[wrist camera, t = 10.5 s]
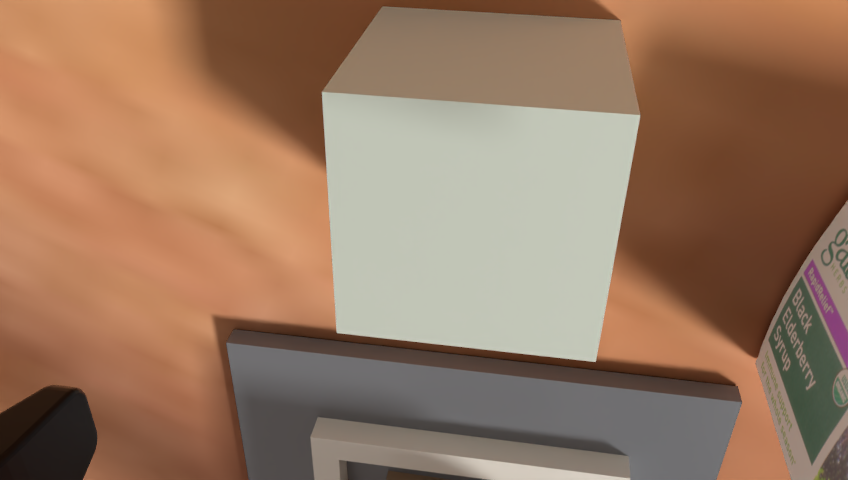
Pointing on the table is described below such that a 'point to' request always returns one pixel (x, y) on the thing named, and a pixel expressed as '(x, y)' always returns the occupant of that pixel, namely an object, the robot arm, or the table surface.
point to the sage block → (479, 178)
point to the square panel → (465, 416)
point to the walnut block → (409, 476)
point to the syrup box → (812, 361)
